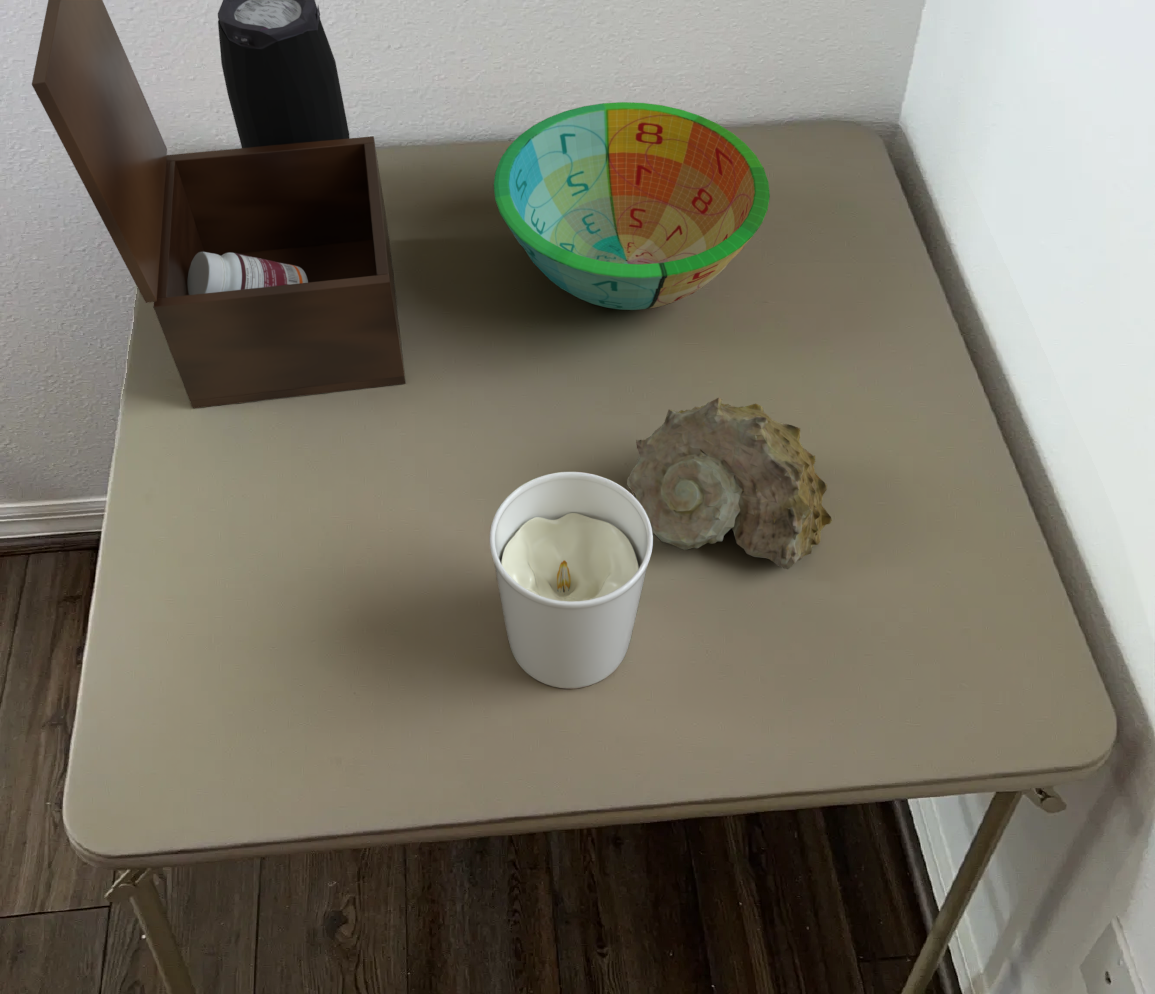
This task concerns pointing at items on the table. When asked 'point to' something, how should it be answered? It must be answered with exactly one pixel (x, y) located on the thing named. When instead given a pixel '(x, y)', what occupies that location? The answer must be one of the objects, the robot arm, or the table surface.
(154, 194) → the lid
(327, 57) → the portable speaker
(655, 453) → the seashell
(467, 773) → the table surface
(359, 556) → the table surface
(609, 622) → the candle holder
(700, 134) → the bowl
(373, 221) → the chest
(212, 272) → the pill bottle
